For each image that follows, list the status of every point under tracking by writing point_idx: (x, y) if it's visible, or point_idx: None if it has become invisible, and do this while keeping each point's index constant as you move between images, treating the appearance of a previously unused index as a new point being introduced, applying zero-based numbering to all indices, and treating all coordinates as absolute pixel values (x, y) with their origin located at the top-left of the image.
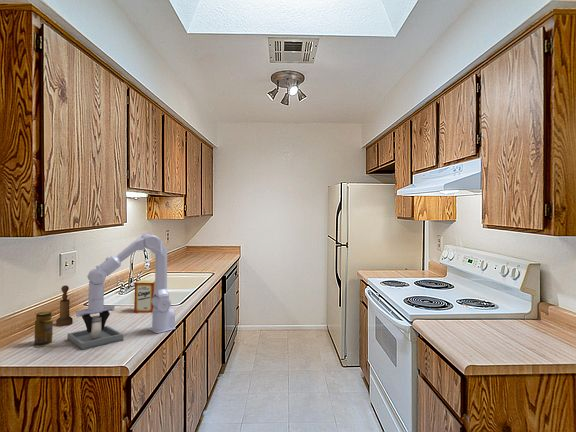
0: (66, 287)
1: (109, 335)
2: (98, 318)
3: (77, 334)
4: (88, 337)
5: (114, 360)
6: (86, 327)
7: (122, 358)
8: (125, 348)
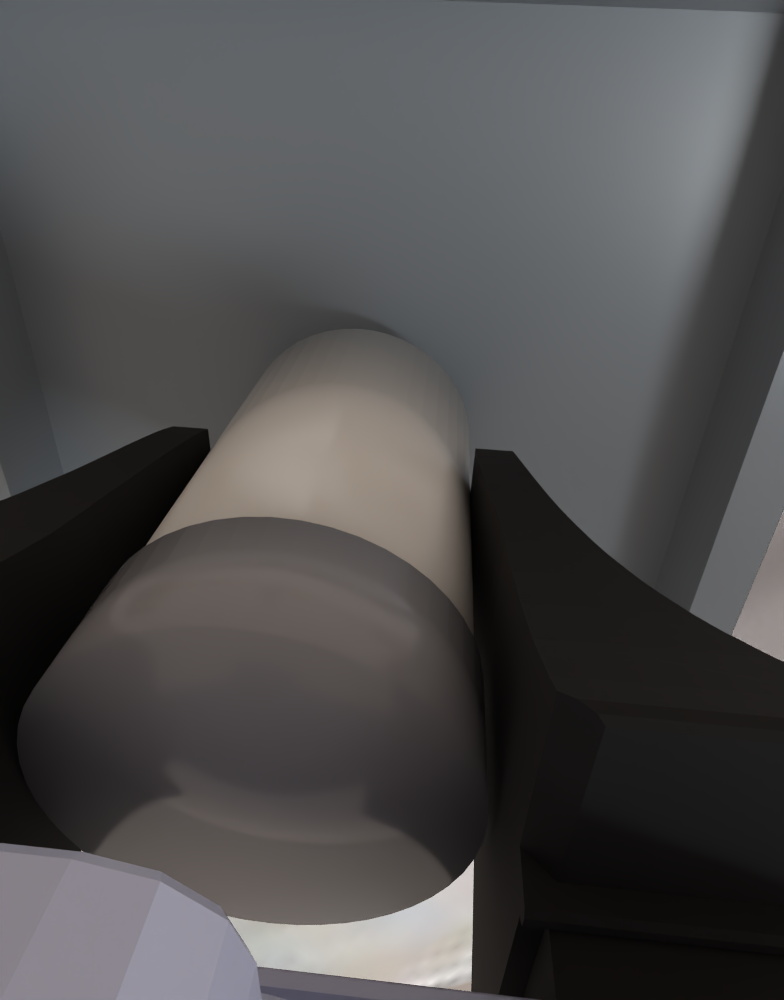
0: None
1: (635, 439)
2: (284, 910)
3: None
4: (284, 252)
5: (280, 958)
6: (103, 462)
7: (346, 968)
8: None
